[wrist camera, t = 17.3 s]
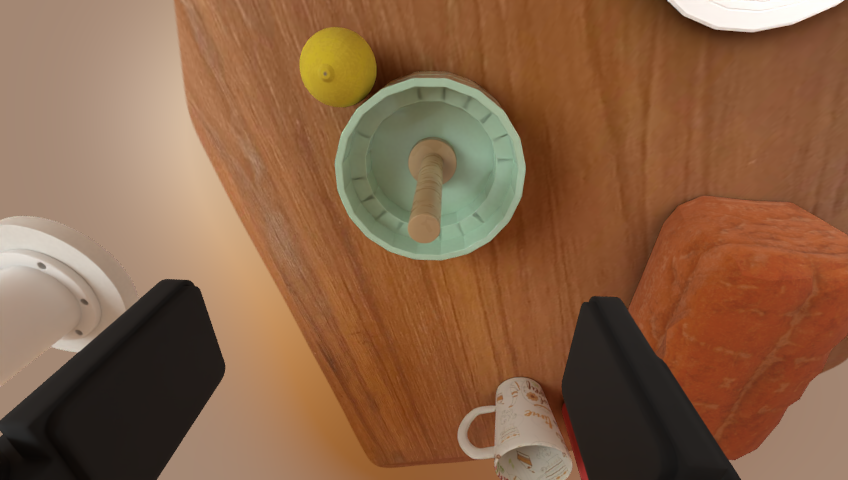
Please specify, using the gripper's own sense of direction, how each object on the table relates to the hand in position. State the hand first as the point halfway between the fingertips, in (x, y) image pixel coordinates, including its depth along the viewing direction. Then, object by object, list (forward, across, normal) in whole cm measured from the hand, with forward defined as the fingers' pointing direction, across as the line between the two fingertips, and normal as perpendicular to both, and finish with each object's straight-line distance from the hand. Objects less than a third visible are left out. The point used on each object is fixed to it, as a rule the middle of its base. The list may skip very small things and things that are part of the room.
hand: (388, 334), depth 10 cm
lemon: (+28, +7, -4) cm, 30 cm away
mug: (+28, -10, +36) cm, 47 cm away
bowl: (+28, 0, +4) cm, 29 cm away
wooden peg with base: (+28, 0, +4) cm, 28 cm away
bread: (+28, -29, +20) cm, 45 cm away
